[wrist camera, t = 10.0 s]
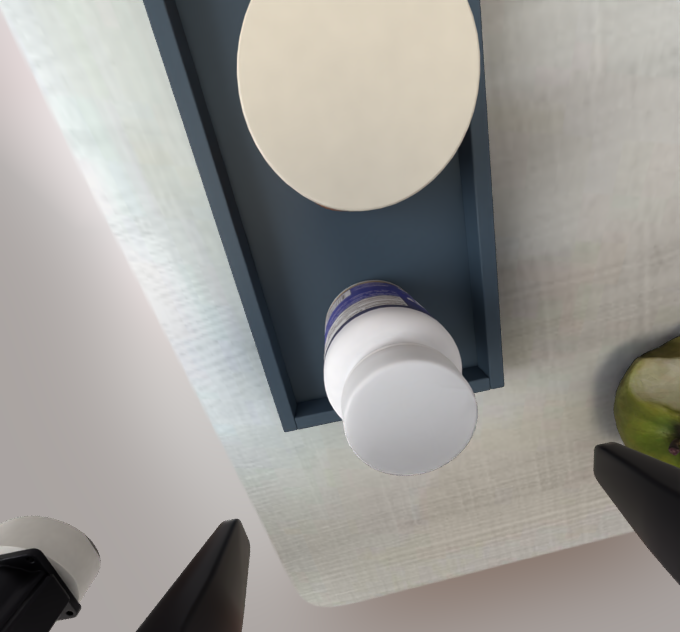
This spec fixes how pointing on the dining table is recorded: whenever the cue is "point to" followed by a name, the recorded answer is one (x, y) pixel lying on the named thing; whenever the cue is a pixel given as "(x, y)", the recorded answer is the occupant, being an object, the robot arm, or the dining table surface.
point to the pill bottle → (396, 380)
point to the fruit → (652, 404)
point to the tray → (328, 223)
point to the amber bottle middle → (358, 94)
